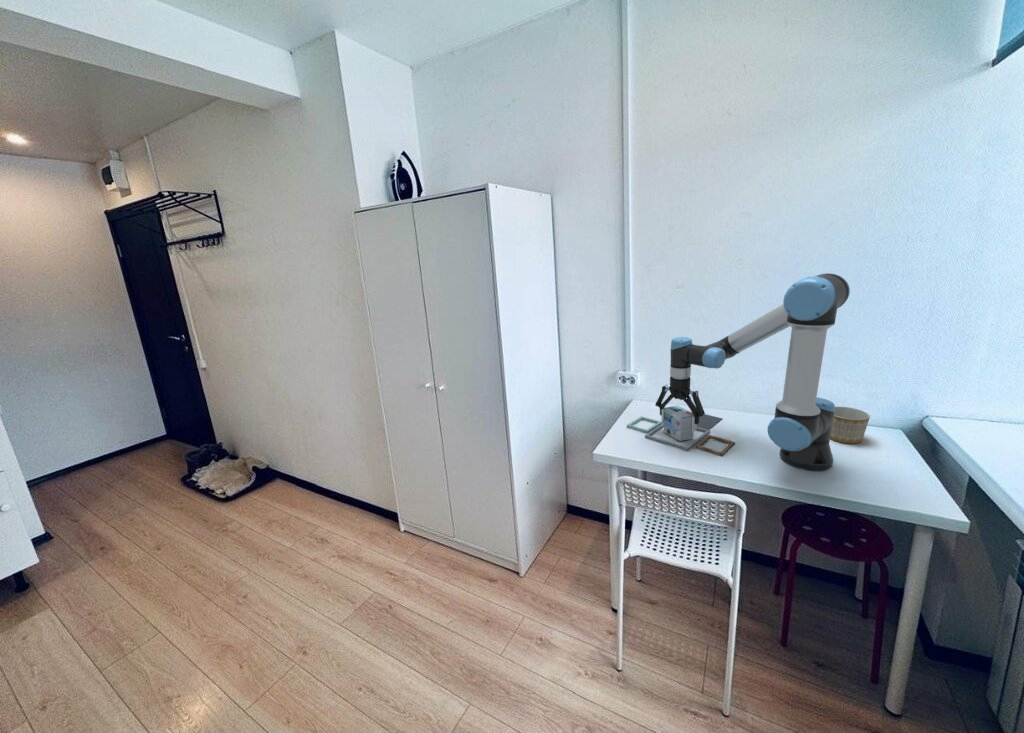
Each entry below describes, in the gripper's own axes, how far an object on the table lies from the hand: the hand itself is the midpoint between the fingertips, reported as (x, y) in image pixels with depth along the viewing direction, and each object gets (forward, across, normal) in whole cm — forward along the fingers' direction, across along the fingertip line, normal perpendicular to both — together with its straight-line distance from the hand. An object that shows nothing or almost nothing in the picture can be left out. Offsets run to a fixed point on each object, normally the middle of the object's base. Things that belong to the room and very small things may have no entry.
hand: (678, 426), depth 166 cm
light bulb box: (+4, 0, 0) cm, 4 cm away
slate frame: (+4, 0, 0) cm, 4 cm away
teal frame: (+4, +15, 0) cm, 16 cm away
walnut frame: (+4, -15, 0) cm, 15 cm away
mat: (+4, -2, -19) cm, 19 cm away
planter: (+5, -48, -36) cm, 60 cm away
